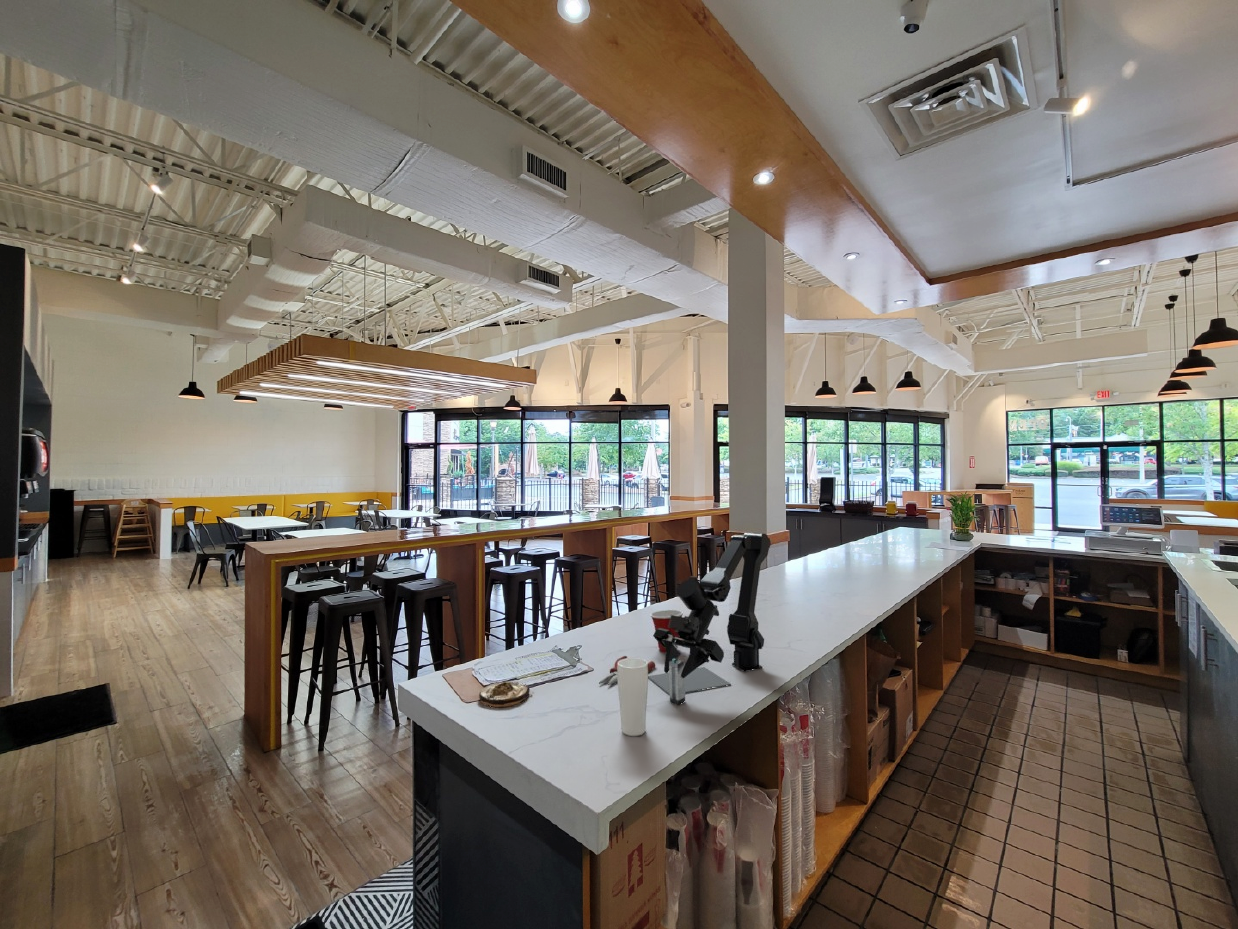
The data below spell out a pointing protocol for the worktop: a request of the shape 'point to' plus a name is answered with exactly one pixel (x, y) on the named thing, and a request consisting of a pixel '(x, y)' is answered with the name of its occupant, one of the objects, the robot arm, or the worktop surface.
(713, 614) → the robot arm
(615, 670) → the pliers
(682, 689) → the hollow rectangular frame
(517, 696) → the pie
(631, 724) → the white tumbler
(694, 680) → the mat
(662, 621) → the plastic cup
